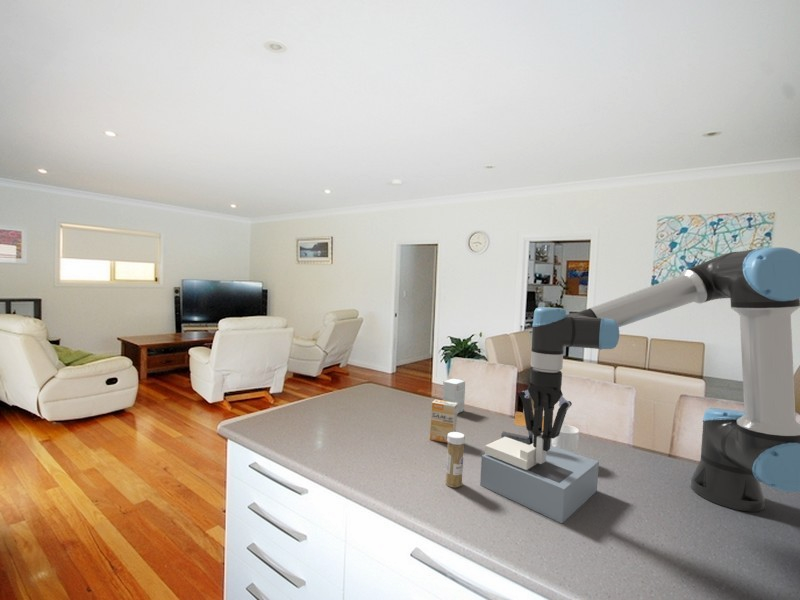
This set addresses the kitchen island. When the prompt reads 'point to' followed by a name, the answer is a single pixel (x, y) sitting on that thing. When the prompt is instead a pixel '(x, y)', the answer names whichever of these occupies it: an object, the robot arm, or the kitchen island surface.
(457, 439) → the sprinkles bottle
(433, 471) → the kitchen island surface
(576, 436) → the white cup
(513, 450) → the cover
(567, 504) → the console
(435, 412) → the supplement box
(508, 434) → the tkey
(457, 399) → the small box
